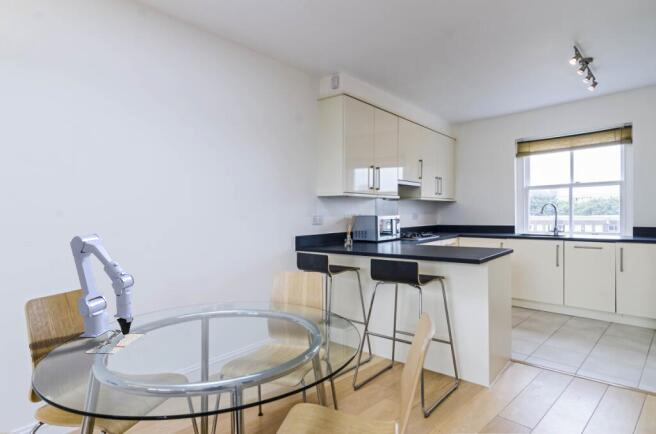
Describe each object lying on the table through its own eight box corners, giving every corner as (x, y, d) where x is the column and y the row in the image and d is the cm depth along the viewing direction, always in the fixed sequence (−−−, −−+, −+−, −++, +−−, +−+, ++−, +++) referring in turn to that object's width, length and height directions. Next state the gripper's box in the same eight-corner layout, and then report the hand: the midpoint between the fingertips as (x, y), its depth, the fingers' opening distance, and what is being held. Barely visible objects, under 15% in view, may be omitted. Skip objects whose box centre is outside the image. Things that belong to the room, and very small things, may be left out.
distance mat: (120, 332, 155) (120, 332, 155) (145, 333, 154) (145, 333, 154) (84, 352, 135) (84, 352, 135) (113, 354, 134) (113, 353, 134)
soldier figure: (90, 352, 137) (105, 332, 149) (101, 358, 139) (116, 338, 150) (101, 340, 136) (116, 320, 147) (113, 346, 137) (126, 326, 149)
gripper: (109, 301, 151) (110, 332, 152) (118, 309, 141) (119, 342, 142) (127, 298, 156) (128, 327, 157) (137, 305, 146) (138, 336, 147)
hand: (125, 334), depth 150 cm, fingers closed
